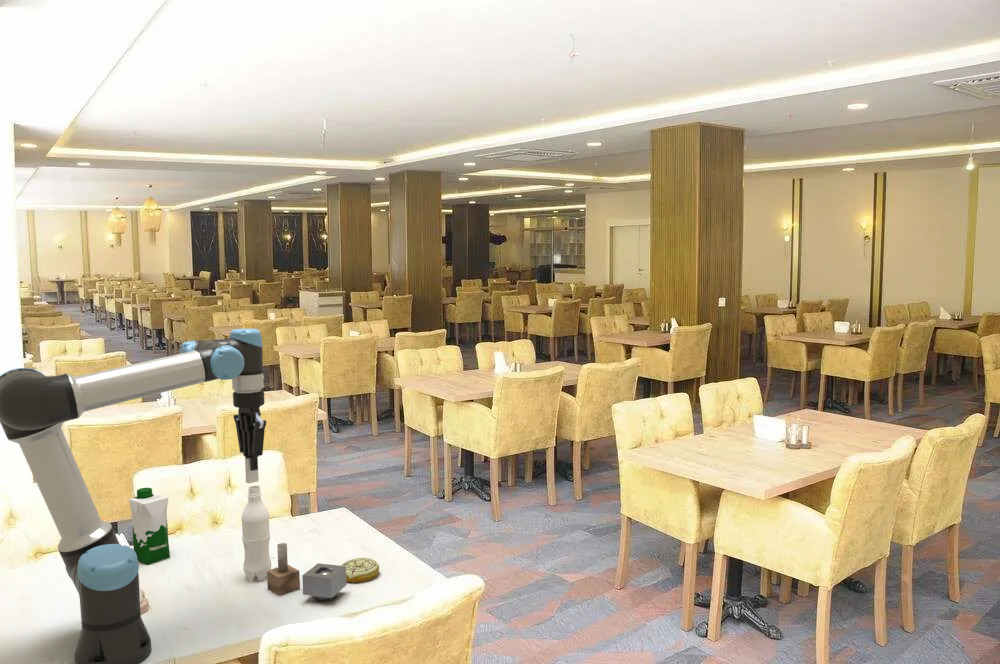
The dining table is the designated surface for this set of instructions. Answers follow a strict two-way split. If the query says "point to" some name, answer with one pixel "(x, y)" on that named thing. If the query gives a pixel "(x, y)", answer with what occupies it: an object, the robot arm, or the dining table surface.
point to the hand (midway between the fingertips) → (252, 481)
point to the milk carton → (150, 526)
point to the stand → (283, 574)
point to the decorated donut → (360, 569)
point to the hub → (324, 599)
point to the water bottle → (256, 536)
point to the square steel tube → (324, 580)
